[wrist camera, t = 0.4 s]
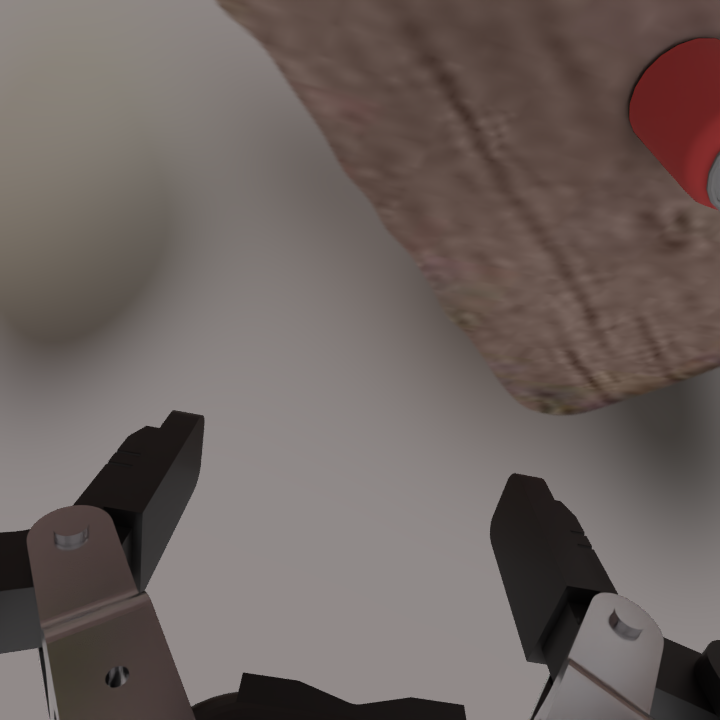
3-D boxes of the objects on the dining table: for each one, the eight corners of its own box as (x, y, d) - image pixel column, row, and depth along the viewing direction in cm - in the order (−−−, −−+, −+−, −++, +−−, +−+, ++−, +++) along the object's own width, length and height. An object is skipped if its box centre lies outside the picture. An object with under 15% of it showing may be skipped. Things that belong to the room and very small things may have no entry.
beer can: (712, 8, 30) (832, 60, 21) (752, 92, 33) (872, 168, 24) (608, 92, 33) (674, 166, 25) (652, 161, 36) (725, 249, 28)
